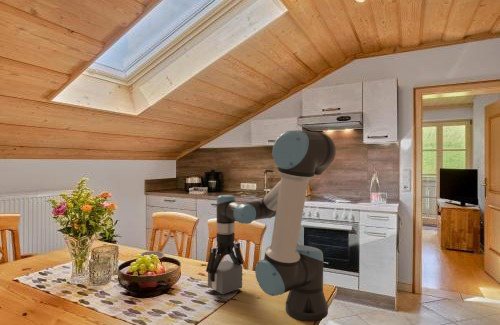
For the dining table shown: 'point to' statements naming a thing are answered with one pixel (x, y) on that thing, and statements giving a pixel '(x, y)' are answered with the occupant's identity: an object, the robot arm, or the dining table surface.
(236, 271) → the matte grey cube
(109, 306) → the dining table surface
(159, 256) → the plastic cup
